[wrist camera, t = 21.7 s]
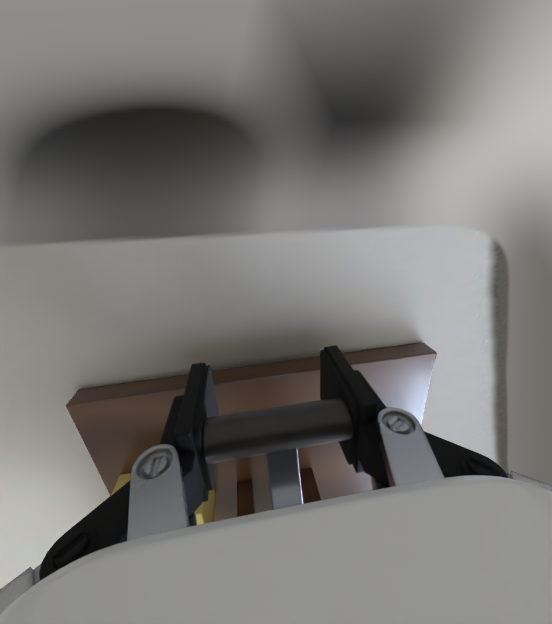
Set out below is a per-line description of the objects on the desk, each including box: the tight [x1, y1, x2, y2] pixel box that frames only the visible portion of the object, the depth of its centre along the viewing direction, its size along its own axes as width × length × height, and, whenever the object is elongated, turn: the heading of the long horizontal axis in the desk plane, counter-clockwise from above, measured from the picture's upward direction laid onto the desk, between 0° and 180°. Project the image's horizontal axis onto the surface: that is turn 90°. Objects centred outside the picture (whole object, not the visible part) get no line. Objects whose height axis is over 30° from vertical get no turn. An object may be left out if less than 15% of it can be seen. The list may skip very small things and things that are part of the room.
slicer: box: [66, 343, 437, 522], centre depth 14 cm, size 20×20×12 cm
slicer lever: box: [202, 397, 354, 510], centre depth 10 cm, size 14×5×2 cm, turn 1°
